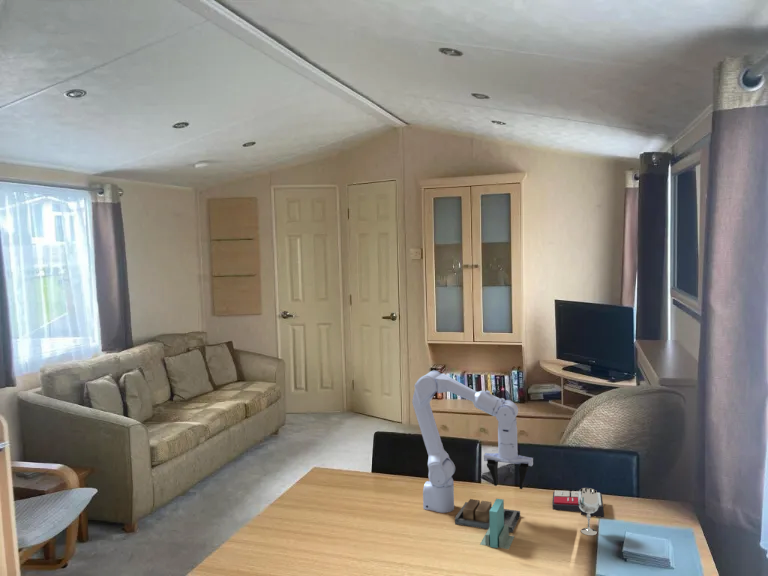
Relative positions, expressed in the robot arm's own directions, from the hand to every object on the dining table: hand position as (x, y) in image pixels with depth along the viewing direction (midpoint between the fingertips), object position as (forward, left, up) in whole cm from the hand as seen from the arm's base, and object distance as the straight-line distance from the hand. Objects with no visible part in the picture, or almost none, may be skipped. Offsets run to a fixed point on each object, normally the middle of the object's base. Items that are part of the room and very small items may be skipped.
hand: (508, 486), depth 182 cm
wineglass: (+23, 0, -11) cm, 25 cm away
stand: (0, -16, -10) cm, 19 cm away
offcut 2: (-7, -4, -9) cm, 12 cm away
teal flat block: (0, -16, -9) cm, 19 cm away
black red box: (+18, +16, -11) cm, 27 cm away
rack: (-5, -4, -10) cm, 12 cm away
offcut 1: (-11, -4, -9) cm, 15 cm away
